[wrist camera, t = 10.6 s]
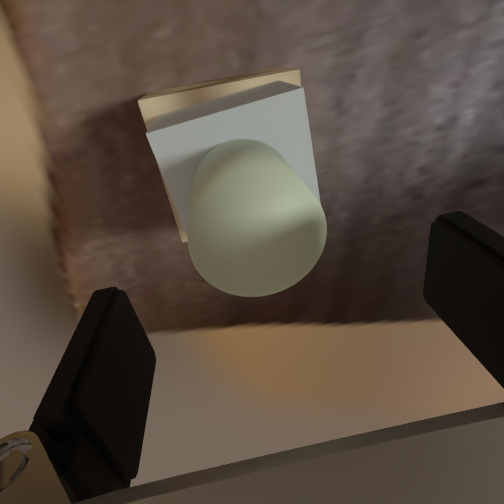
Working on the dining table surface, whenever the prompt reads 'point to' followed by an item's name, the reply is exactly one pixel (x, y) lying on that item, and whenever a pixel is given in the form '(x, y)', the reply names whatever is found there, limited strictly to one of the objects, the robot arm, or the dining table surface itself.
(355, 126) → the dining table surface
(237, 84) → the tower base
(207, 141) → the tower top
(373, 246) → the dining table surface
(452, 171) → the dining table surface
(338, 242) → the dining table surface
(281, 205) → the sage cylinder
